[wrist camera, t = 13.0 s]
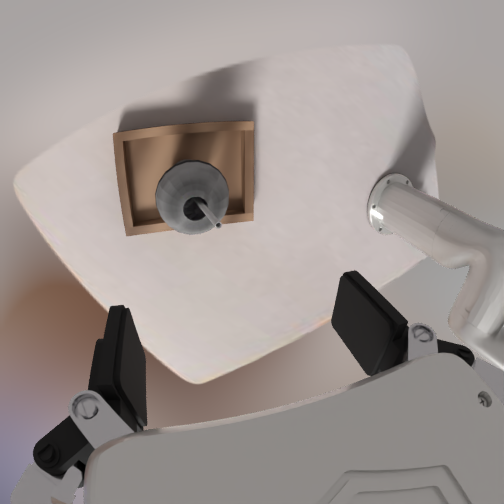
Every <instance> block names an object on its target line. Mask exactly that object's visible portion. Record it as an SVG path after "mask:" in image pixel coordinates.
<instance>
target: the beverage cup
mask: <svg viewBox="0 0 504 504" xmlns="http://www.w3.org/2000/svg"><path fill="white" fill-rule="evenodd" d="M155 199H156V206H157V209H158V211H159V214H160V216H161V217H162V219H163V220H164V221H165V222H166V223H167V225H168V226H169V227H171V228H172V229H174V230H176V231H177V232H180V233H184V234H189V235H193V234H201V233H204V232H207V231H209V230H211V229H212V228H214V227H216V228H218V229H219V228H221V226H222V224H221V222H220V221H221V220H222V218H223V217H224V216H225V213H226V210H227V208H228V204H229V188H228V185H227V182H226V179H225V177H224V176H223V175H222V173H221V172H220V170H219V169H217V168H216V167H214V166H213V165H211V164H210V163H207V162H204V161H200V160H191V159H184V160H181V161H178V162H177V163H176V164H175V165H173V166H172V167H171V168H170V169H168V170H167V171H166V172H165V173H164V174H163V176H162V177H161V179H160V180H159V182H158V185H157V189H156V192H155Z"/></svg>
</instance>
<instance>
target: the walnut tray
mask: <svg viewBox="0 0 504 504" xmlns="http://www.w3.org/2000/svg"><path fill="white" fill-rule="evenodd" d="M113 142H114V154H115V163H116V172H117V181H118V188H119V195H120V202H121V208H122V214H123V220H124V226H125V231H126V236H132V235H139V234H147V233H154V232H162V231H169V230H174V229H172V228H171V227H169V226H168V225H167V223H166V222H165V221H164V220H163V219H162V217H161V216H160V214H159V211H158V209H157V206H156V199H155V192H156V189H157V185H158V182H159V180H160V179H161V177H162V176H163V174H164V173H165V172H166V171H167V170H168V169H170V168H171V167H172V166H173V165H175V164H176V163H177V162H178V161H181V160H184V159H191V160H200V161H204V162H207V163H210V164H211V165H213V166H214V167H216V168H217V169H219V170H220V172H221V173H222V175H223V176H224V177H225V179H226V182H227V185H228V188H229V204H228V208H227V210H226V213H225V216H224V217H223V218H222V220H221V221H220V222H221V224H227V223H237V222H246V221H253V204H254V121H224V122H203V123H189V124H177V125H167V126H158V127H150V128H142V129H135V130H129V131H122V132H117V133H113Z"/></svg>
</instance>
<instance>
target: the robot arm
mask: <svg viewBox="0 0 504 504" xmlns="http://www.w3.org/2000/svg"><path fill="white" fill-rule="evenodd" d="M367 213H368V219H369V223H370V225H371V226H372V228H373V229H374V230H375V231H377V232H378V233H380V234H382V235H390V234H393V233H394V234H396V235H397V236H399V237H400V238H402V239H403V240H405V241H406V242H408V243H409V244H411V245H412V246H414V247H415V248H417V249H418V250H420V251H421V252H422V253H424V254H425V255H427V256H428V257H430V258H431V259H433V260H434V261H435V262H437V263H438V264H440V265H441V266H443V267H445V268H449V269H456V268H461V267H465V266H469V271H468V274H467V276H466V279H465V282H464V284H463V286H462V288H461V290H460V292H459V294H458V296H457V298H456V300H455V302H454V304H453V306H452V308H451V310H450V313H449V316H448V324H449V327H450V330H451V331H452V333H453V334H454V335H455V336H456V337H457V338H458V339H459V340H460V341H461V342H462V343H464V344H465V345H466V346H468V347H469V348H470V349H472V350H473V351H475V352H476V353H477V354H479V355H480V356H481V357H483V358H484V359H485V360H487V361H488V362H489V363H491V364H492V365H491V364H489V363H487V362H485V361H483V360H481V359H479V358H476V360H475V358H474V355H473V353H472V352H471V350H470V349H468V348H467V347H465V346H463V345H459V344H454V343H450V342H446V341H442V340H439V339H437V337H436V333H435V332H434V330H433V329H432V328H431V327H429V326H428V325H426V324H422V323H415V324H412V325H411V326H410V327H408V326H407V323H408V321H407V320H406V319H405V318H404V317H403V316H402V315H401V314H400V313H399V312H398V311H397V310H396V309H395V308H394V307H393V306H392V305H391V304H390V303H389V302H388V301H387V300H386V299H385V298H384V297H383V296H382V295H381V294H380V293H379V292H378V291H377V290H376V289H375V288H374V287H373V286H372V285H371V284H370V283H369V282H368V281H367V280H366V279H365V278H364V277H363V276H362V275H361V274H360V273H358V272H357V271H350V272H345V273H344V274H343V276H341V278H340V282H339V287H338V292H337V296H336V301H335V306H334V310H333V315H332V319H331V323H332V326H333V328H334V329H335V330H336V332H337V333H338V335H339V336H340V337H341V339H342V340H343V342H344V343H345V345H346V346H347V347H348V349H349V350H350V351H351V353H352V354H353V356H354V357H355V359H356V360H357V361H358V363H359V364H360V366H361V367H362V369H363V370H364V371H365V373H366V374H367V375H370V376H371V377H368V378H366V379H363V380H361V381H358V382H356V383H353V384H350V385H347V386H345V387H342V388H339V389H336V390H333V391H330V392H327V393H324V394H321V395H318V396H315V397H312V398H308V399H305V400H302V401H298V402H295V403H291V404H287V405H284V406H280V407H276V408H272V409H268V410H264V411H260V412H255V413H251V414H246V415H241V416H236V417H231V418H226V419H220V420H214V421H208V422H202V423H196V424H188V425H181V426H172V427H165V428H158V429H149V430H145V431H143V426H147V410H146V409H147V408H146V359H145V353H144V350H143V348H142V345H141V342H140V339H139V336H138V333H137V331H136V328H135V325H134V322H133V318H132V315H131V312H130V309H129V308H125V307H124V305H118V306H111V307H110V309H109V314H108V319H107V324H106V328H105V334H104V338H103V339H98V340H97V342H96V345H95V351H94V356H93V361H92V367H91V373H90V379H89V386H88V390H86V391H81V392H79V393H77V394H76V395H74V396H73V398H72V399H71V400H70V402H69V406H68V410H69V414H70V416H68V417H67V418H66V419H65V420H64V421H62V422H61V423H60V424H59V425H57V426H56V427H55V428H54V429H53V430H51V431H50V432H49V433H48V434H47V435H45V436H44V437H43V438H42V439H40V440H39V441H38V442H37V443H36V445H35V447H34V450H33V457H34V460H35V461H34V463H33V464H32V465H31V464H29V465H28V466H27V468H26V470H25V472H24V473H23V475H22V476H21V478H20V480H19V482H18V483H17V485H16V487H15V489H14V490H13V492H12V494H11V498H10V499H11V504H72V503H73V500H74V499H75V497H76V496H75V495H74V493H75V491H76V489H77V488H80V487H83V486H84V491H83V493H84V495H83V497H84V504H504V327H502V326H503V325H504V230H503V229H500V228H498V227H495V226H493V225H490V224H488V223H485V222H483V221H481V220H479V219H477V218H475V217H473V216H471V215H469V214H467V213H465V212H463V211H461V210H459V209H457V208H455V207H453V206H451V205H449V204H447V203H445V202H443V201H441V200H439V199H437V198H435V197H433V196H430V195H428V194H426V193H424V192H422V191H419V190H417V189H415V188H413V185H412V183H411V181H410V180H409V179H408V178H407V177H406V176H404V175H401V174H398V173H392V174H389V175H387V176H385V177H384V178H382V179H381V180H380V181H379V182H378V183H377V184H376V186H375V187H374V189H373V191H372V193H371V195H370V199H369V202H368V212H367Z"/></svg>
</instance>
